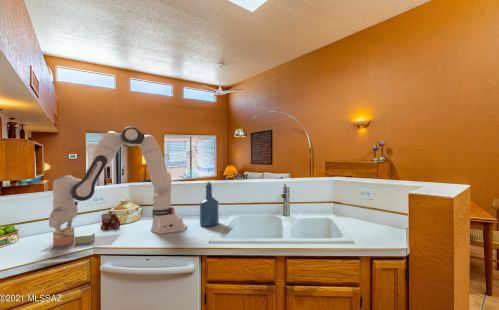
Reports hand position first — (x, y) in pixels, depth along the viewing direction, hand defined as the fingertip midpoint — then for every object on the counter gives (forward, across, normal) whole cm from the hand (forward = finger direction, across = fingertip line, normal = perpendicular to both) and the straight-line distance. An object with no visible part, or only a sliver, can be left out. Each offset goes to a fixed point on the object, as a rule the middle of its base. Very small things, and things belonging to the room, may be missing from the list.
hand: (64, 230), depth 122 cm
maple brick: (+3, 0, 0) cm, 3 cm away
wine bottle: (+9, +16, -80) cm, 82 cm away
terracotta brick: (+7, 0, 0) cm, 7 cm away
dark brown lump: (+9, +24, -15) cm, 30 cm away
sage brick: (+7, 0, -10) cm, 12 cm away
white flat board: (+9, 0, -10) cm, 13 cm away
